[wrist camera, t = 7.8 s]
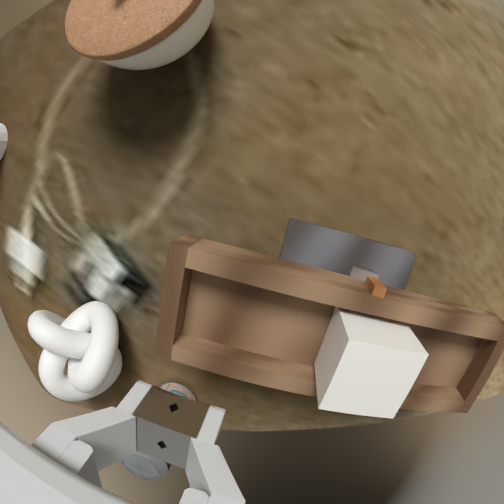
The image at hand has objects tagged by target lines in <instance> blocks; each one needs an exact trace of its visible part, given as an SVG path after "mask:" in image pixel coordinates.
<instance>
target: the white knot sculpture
mask: <svg viewBox="0 0 504 504" xmlns="http://www.w3.org/2000/svg"><path fill="white" fill-rule="evenodd" d="M28 329H29V333H30V335H31V337H32V338H33V339H34V340H35V341H36V342H37V343H38V344H39V345H40V346H41V347H43V348H44V350H43V352H42V354H41V357H40V360H39V369H38V370H39V376H40V379H41V382H42V384H43V385H44V387H45V388H46V389H47V390H48V391H49V392H50V393H51V394H52V395H53V396H55V397H57V398H59V399H62V400H65V401H82V400H86V399H90V398H92V397H95V396H97V395H99V394H101V393H102V392H104V391H105V390H107V389H108V388H109V387H110V386H111V385H112V384H113V383H114V382H115V381H116V379H117V378H118V376H119V374H120V372H121V369H122V355H121V352H120V350H119V349H118V342H119V327H118V320H117V317H116V315H115V313H114V312H113V310H112V309H111V308H110V306H108V305H107V304H105V303H102V302H98V301H93V302H89V303H86V304H84V305H82V306H81V307H79V308H78V309H76V310H75V311H74V312H73V313H71V314H70V315H69V316H68V317H67V318H66V319H64V318H62V317H61V316H59V315H57V314H55V313H52V312H50V311H47V310H39V311H35V312H34V313H33V314H32V315H31V316H30V317H29V320H28ZM90 332H91V333H90ZM68 357H69V360H68V376H66V375H64V373H63V370H64V366H65V363H66V361H67V359H68Z"/></svg>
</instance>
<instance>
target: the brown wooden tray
mask: <svg viewBox="0 0 504 504" xmlns="http://www.w3.org/2000/svg"><path fill="white" fill-rule="evenodd" d="M415 257H416V254H415V253H413V252H411V251H408V250H405V249H401V248H398V247H395V246H391V245H388V244H384V243H381V242H378V241H374V240H371V239H367V238H364V237H360V236H357V235H353V234H350V233H346V232H342V231H339V230H335V229H331V228H328V227H324V226H320V225H317V224H313V223H309V222H305V221H301V220H298V219H294V218H290V219H289V223H288V227H287V231H286V235H285V239H284V243H283V246H282V250H281V254H280V258H278V257H274V256H270V255H266V254H262V253H258V252H254V251H250V250H246V249H243V248H239V247H235V246H231V245H227V244H223V243H219V242H215V241H211V240H207V239H204V238H200V237H196V236H192V235H188V234H186V235H184V236H182V237H180V238H178V239H177V240H175V241H173V242H171V243H170V244H169V250H168V256H167V263H166V269H165V276H164V283H163V290H162V298H161V305H160V313H159V322H158V330H157V340H156V350H155V354H157V355H159V356H162V357H165V358H168V359H171V360H174V361H177V362H180V363H183V364H186V365H189V366H193V367H196V368H199V369H202V370H206V371H209V372H213V373H216V374H219V375H223V376H227V377H230V378H234V379H238V380H241V381H245V382H249V383H253V384H257V385H261V386H266V387H270V388H274V389H279V390H283V391H288V392H292V393H297V394H302V395H307V396H313V397H317V389H316V378H315V367H314V363H315V360H316V357H317V355H318V352H319V350H320V347H321V344H322V342H323V339H324V337H325V334H326V331H327V328H328V326H329V323H330V320H331V317H332V314H333V312H334V309H335V306H336V307H340V308H344V309H348V310H353V311H357V312H361V313H366V314H370V315H374V316H379V317H383V318H388V319H392V320H396V321H401V322H406V324H407V325H408V326H409V328H410V329H411V330H412V332H413V333H414V334H415V336H416V337H417V339H418V340H419V341H420V343H421V344H422V346H423V347H424V348H425V350H426V351H427V353H428V354H429V355H428V357H427V359H426V361H425V363H424V365H423V367H422V369H421V371H420V373H419V375H418V377H417V378H416V380H415V382H414V384H413V386H412V388H411V389H410V391H409V393H408V395H407V396H406V398H405V400H404V401H403V403H402V405H401V406H400V408H399V409H406V410H419V411H435V412H462V413H467V412H468V411H469V409H470V408H471V406H472V404H473V403H474V401H475V400H476V398H477V396H478V395H479V393H480V392H481V390H482V388H483V387H484V385H485V383H486V381H487V380H488V378H489V376H490V374H491V373H492V371H493V369H494V367H495V365H496V363H497V361H498V359H499V358H500V356H501V354H502V352H503V350H504V321H503V320H501V319H500V318H499V317H498V316H496V315H495V314H494V313H491V312H487V311H483V310H479V309H475V308H471V307H467V306H464V305H460V304H456V303H452V302H448V301H444V300H440V299H436V298H433V297H429V296H425V295H421V294H417V293H413V292H409V291H406V290H404V289H405V286H406V284H407V281H408V278H409V275H410V272H411V269H412V266H413V263H414V260H415Z"/></svg>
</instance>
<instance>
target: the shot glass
mask: <svg viewBox="0 0 504 504" xmlns="http://www.w3.org/2000/svg"><path fill="white" fill-rule="evenodd" d="M7 141H8V137H7V130H6V127H5V126H4V125H3V124H1V123H0V160H1V159H2V157H3V155H4V153H5V150H6V147H7Z"/></svg>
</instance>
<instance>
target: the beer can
mask: <svg viewBox="0 0 504 504" xmlns="http://www.w3.org/2000/svg"><path fill="white" fill-rule="evenodd" d="M160 388H161V389H164V390H166V391H169V392H171V393H174V394H177V395H179V396H183V397H186V398H189V399H192V400H195V401H196V398H195V396H194V394H193V393H192V392H191V391H190V390H189V389H188V388H186V387H185V386H183V385H180V384H178V383H166V384H163V385H162V386H161V387H160ZM121 461H122V463H123V466H124V467H125V468H126V469H127V470H129V471H130V472H131V473H132V474H134V475H136V476H138V477H140V478H142V479H145V480H154V481H155V480H156V479H158V478H160V477H161V476H163V475H165V474H166V473H167V472H168V470H169V468H170V465H171V464H170V463H167V462H164V461H162V460H159V459H156V458H154V457H151V456H148V455H146V454H143V453H140V452H138V451H136V453H134V454H132V455H130V456H129V457H127V458H125V459H122V460H121Z"/></svg>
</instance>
